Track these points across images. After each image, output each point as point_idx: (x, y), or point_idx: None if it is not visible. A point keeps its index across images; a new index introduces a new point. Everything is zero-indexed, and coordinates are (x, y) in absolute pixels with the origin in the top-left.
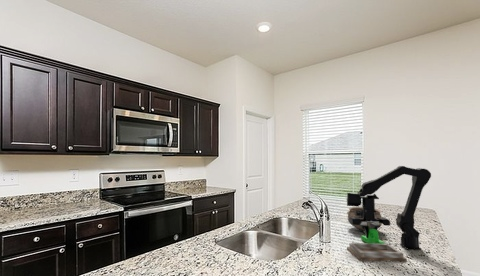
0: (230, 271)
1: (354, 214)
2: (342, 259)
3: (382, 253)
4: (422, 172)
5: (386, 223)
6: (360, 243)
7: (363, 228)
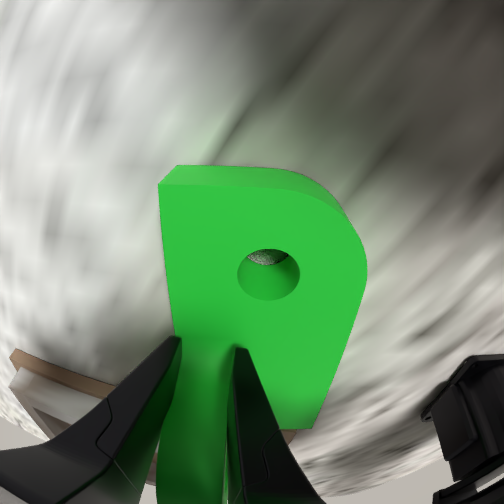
0: None
1: None
2: (17, 402)
3: (151, 483)
4: None
5: None
6: (67, 416)
7: (82, 440)
